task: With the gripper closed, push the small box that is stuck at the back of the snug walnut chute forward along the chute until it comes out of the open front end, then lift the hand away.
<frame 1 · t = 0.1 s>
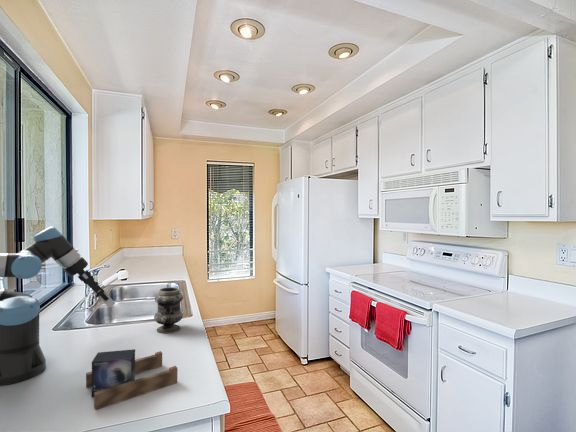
hand: (108, 301, 133), 15 cm above the table, tool tilted 35°, fingers open, 13 cm apart
small box: (113, 390, 95), on the table
chute: (132, 384, 98), on the table
apothecary jar: (168, 329, 144), on the table
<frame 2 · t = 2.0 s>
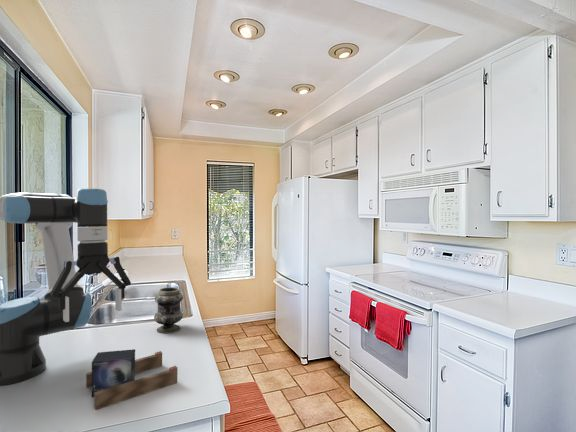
hand: (93, 315, 94), 22 cm above the table, tool pointing down, fingers open, 13 cm apart
nothing on the table moved.
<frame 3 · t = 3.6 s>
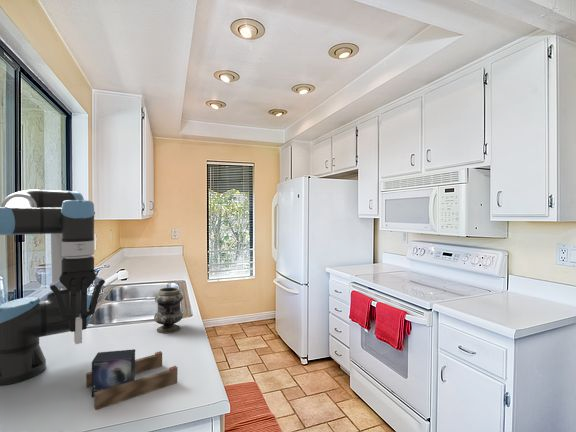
hand: (78, 342, 89), 16 cm above the table, tool pointing down, fingers closed
nothing on the table moved.
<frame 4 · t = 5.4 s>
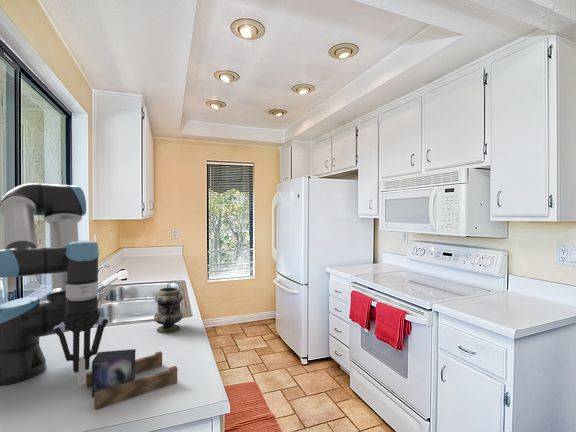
hand: (81, 382, 90), 5 cm above the table, tool pointing down, fingers closed
small box: (114, 390, 95), on the table, touching gripper
everything else where it was.
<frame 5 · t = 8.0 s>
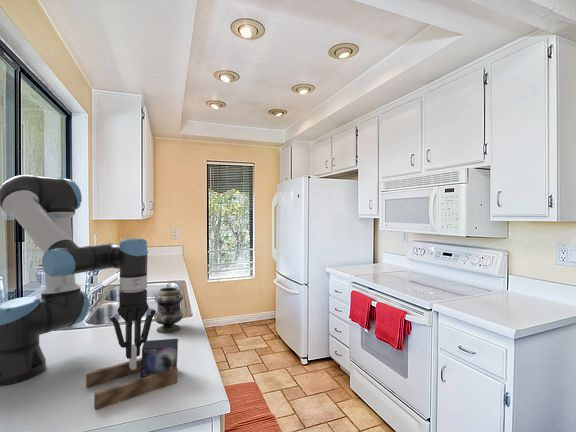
hand: (132, 367, 98), 5 cm above the table, tool pointing down, fingers closed
small box: (159, 376, 103), on the table, touching gripper
everything else where it was.
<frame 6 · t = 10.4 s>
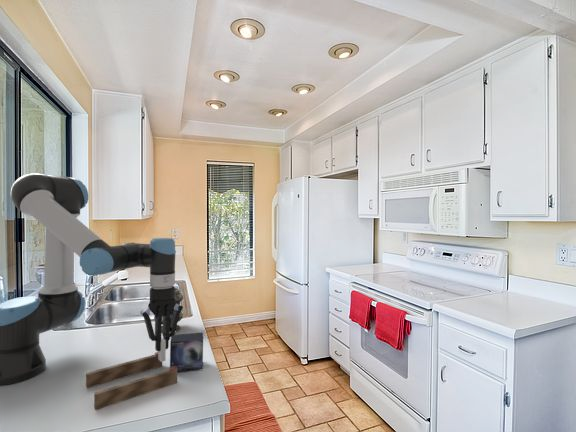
hand: (161, 359, 104), 5 cm above the table, tool pointing down, fingers closed
small box: (186, 368, 109), on the table, touching gripper
everything else where it was.
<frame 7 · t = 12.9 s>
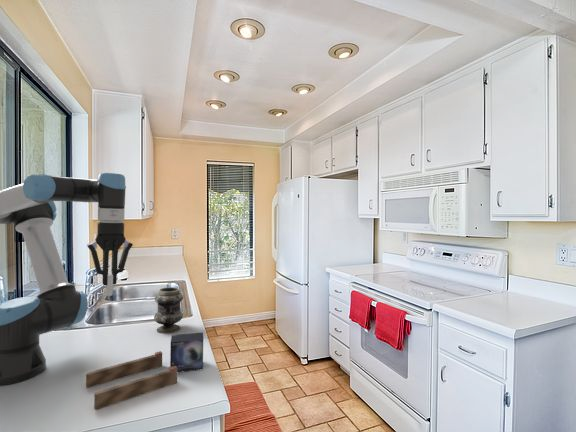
hand: (109, 294, 104), 26 cm above the table, tool pointing down, fingers closed
small box: (186, 368, 110), on the table
everything else where it was.
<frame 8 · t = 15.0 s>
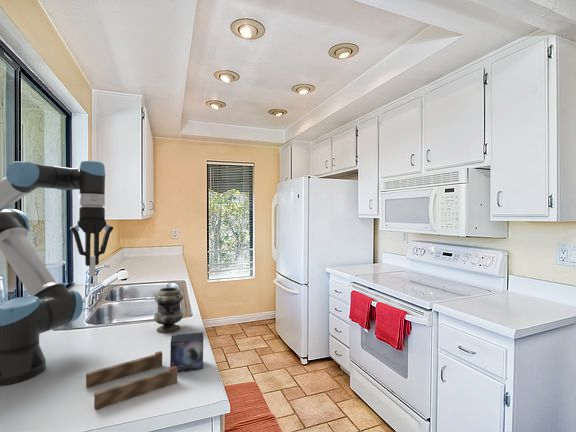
hand: (92, 274, 112), 30 cm above the table, tool pointing down, fingers closed
nothing on the table moved.
at the end: small box inside the target area (0.3 cm from its centre), on the table; small box tilted 0°; small box moved 22.2 cm from its start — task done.
